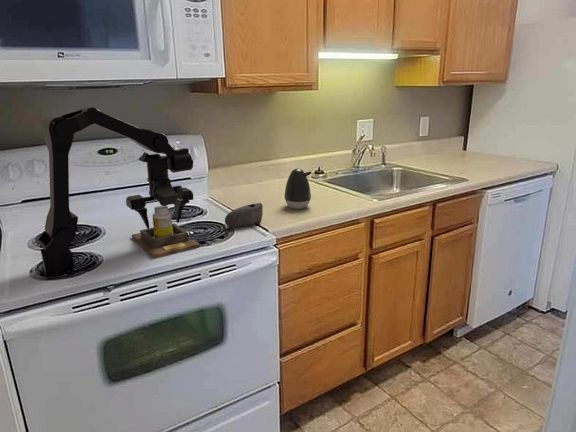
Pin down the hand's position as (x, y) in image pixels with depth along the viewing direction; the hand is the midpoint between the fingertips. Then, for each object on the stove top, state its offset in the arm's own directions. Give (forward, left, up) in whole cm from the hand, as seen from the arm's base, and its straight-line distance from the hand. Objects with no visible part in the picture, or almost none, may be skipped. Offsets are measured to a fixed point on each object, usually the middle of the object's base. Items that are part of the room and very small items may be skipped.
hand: (163, 225), depth 131 cm
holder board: (0, 0, -6) cm, 6 cm away
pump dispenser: (+55, +5, -6) cm, 56 cm away
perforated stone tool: (+28, -1, -6) cm, 29 cm away
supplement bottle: (0, 0, -5) cm, 5 cm away
